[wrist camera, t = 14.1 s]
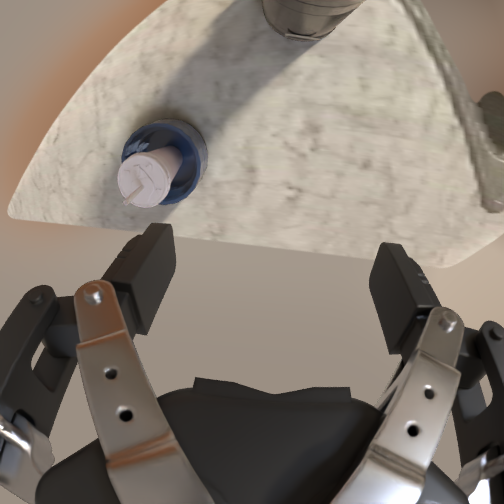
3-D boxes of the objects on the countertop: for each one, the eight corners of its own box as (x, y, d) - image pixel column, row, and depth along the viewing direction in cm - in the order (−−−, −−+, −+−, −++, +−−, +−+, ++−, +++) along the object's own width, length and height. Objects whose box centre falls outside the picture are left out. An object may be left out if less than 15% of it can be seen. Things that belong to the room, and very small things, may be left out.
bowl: (123, 144, 37) (107, 152, 33) (183, 103, 33) (171, 106, 30) (161, 204, 42) (150, 217, 38) (223, 170, 38) (216, 181, 35)
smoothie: (155, 183, 39) (108, 230, 28) (144, 141, 36) (88, 174, 24) (196, 176, 38) (160, 222, 27) (186, 131, 35) (142, 160, 23)
